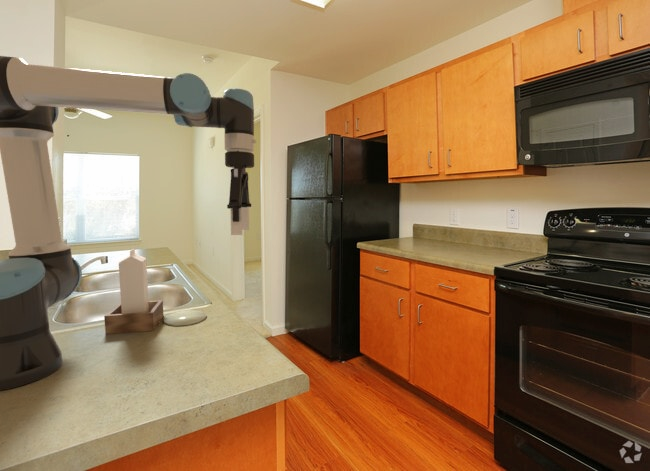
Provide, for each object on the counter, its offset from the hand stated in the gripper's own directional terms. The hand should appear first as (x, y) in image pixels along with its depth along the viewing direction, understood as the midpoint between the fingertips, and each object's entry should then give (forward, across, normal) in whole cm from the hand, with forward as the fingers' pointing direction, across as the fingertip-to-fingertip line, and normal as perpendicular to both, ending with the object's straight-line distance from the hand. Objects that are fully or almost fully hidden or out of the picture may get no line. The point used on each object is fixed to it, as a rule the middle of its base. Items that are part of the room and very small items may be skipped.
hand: (240, 232), depth 94 cm
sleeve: (+28, +7, +31) cm, 42 cm away
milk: (+28, +7, +31) cm, 42 cm away
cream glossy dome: (+28, +10, +18) cm, 35 cm away
